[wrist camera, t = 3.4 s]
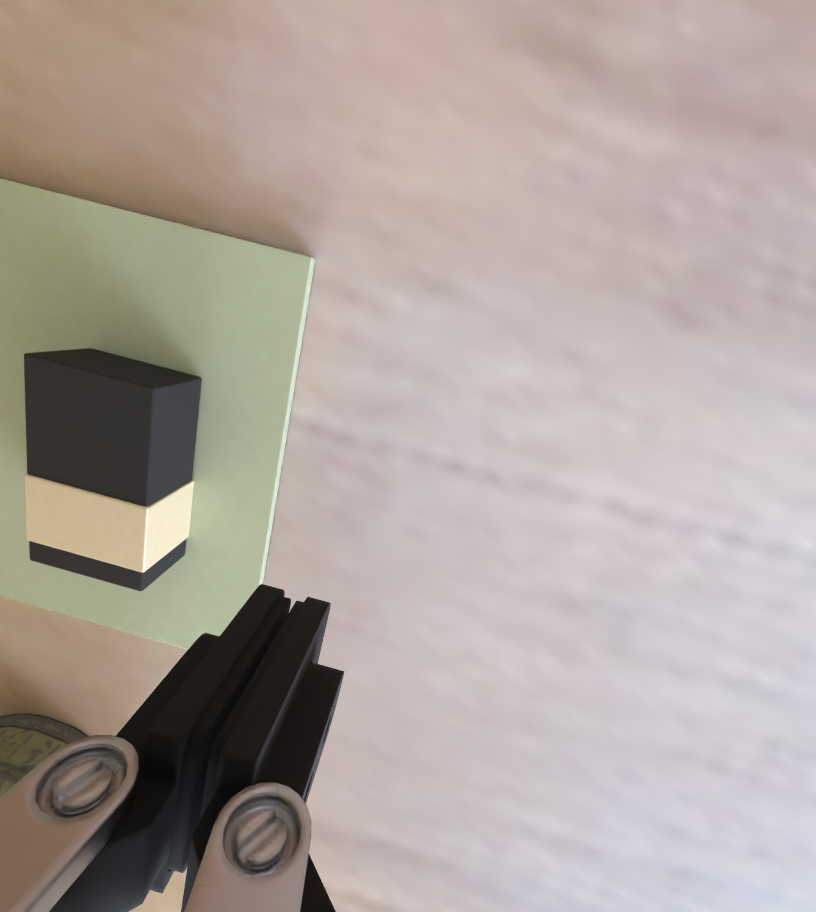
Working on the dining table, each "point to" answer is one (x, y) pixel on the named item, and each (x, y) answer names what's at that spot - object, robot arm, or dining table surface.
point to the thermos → (29, 745)
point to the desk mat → (167, 345)
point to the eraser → (108, 464)
